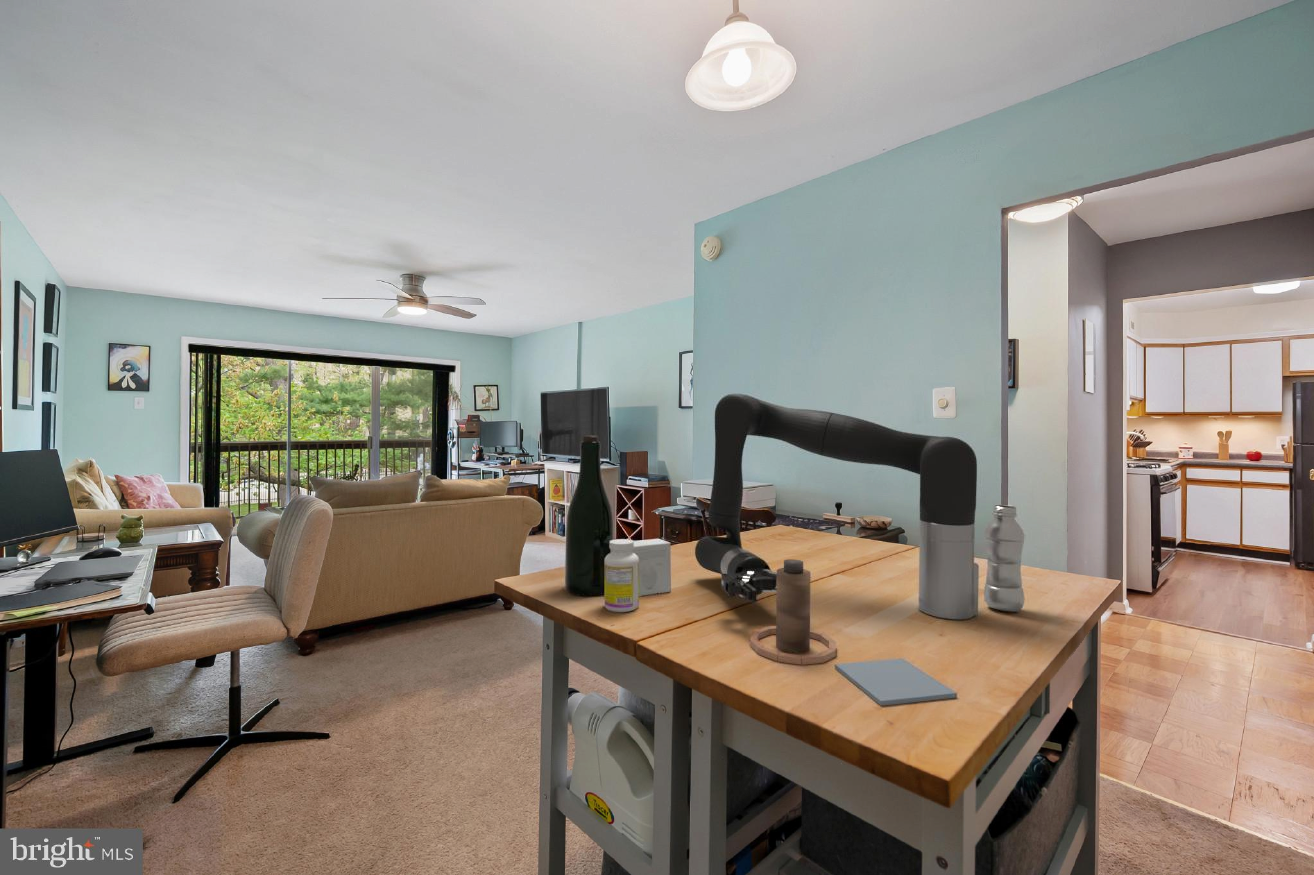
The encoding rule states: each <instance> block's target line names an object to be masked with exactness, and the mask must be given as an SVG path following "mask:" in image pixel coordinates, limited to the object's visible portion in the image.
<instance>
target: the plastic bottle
mask: <svg viewBox="0 0 1314 875" xmlns="http://www.w3.org/2000/svg"><path fill="white" fill-rule="evenodd" d="M992 510H993V511H992V516H994V517H993V519H991V521H990V522H989V523H988V524H987V525H986V526H985V528H984V531H983V536H984V542H985V543H984V544H985V548H986V559H987V562H986V563H987V569H986V579H985V581H986V582H985V583H984V588H983V593H982V594H983V599H984V602H985V604H986V605H987V606H988V607H989V608H992V609H995V610H998V611H1001V612H1002V611H1003V612H1020V611H1021V610H1022V609H1023V607H1024V605H1025V592H1024V588H1023V583H1022V573H1021V571H1022V570H1021V569H1022V568H1021V567H1022V565H1021V563H1022V553H1023V549H1024V542H1025V532H1024V530H1023V528H1022V527H1021V526H1020V524H1019V523H1018V522H1017V520H1016V517H1018V514H1017V506H1014V505H1005V504H1004V505H1003V504H994V505H993V508H992Z"/></svg>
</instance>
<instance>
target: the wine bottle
mask: <svg viewBox="0 0 1314 875" xmlns="http://www.w3.org/2000/svg"><path fill="white" fill-rule="evenodd" d="M601 449H602V446H601V442H600V441H599V436H598V435H593V434H592V435H583V436H582V441H580V444H579V450H580V454H579V455H580V458H579V460H580V461H579V473H578V479H577V483H576V486H575V490H574V492H573V494H572V497H571V500H570V503H569V506H568V511H567V513H566V526H565V560H564V562H565V563H564V567H565V568H564V585H565V586H564V587H565V589H566V591H567V592H569V593H570V594H572V595H576V596H587V597H589V596H591V597H592V596H598V595H599V596H600V595H605V594H604V593H605V591H604V589H605V586H604V560H605V557H606V556H607V555H608V554H610V553H611V550H610V548H609V542H610V541H611V540H615V531H614V515H613V509H612V508H613V507H612V505H611V502H610V499H609V497H608V493H607V492H606V488H605V485H604V482H603V478H602V471H601V470H602V469H601V468H602V467H601V466H602V464H601Z"/></svg>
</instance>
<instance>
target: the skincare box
mask: <svg viewBox="0 0 1314 875" xmlns="http://www.w3.org/2000/svg"><path fill="white" fill-rule="evenodd" d="M633 541H634V548H633V553H635V554H636V555H637V556H638V558H639V597H643V596H652V595H657V593H658V594H664V593H670V592H672V572H671V571H672V569H671V568H672V565H671V564H672V563H671V560H672V559H671V544H672V543H671V542H669V541H666V540H663V539H661V538H652V539H643V540H641V539H640V540H633Z"/></svg>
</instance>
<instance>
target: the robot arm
mask: <svg viewBox="0 0 1314 875" xmlns="http://www.w3.org/2000/svg"><path fill="white" fill-rule="evenodd" d="M748 436H752V437H753V436H755V437H762V438H768V439H774V440H778V441H782V442H785V443H787V444H790V445H792V446H794V447H796V448H798V449H801V450H804V451H805V452H809V453H812V454H816V455H819V456H823V457H826V458H831V459H834V460H839V461H844V462H850V463H857V464H865V465H878V466H887V467H893V468H897V469H901V470H904V471H908V472H910V473H915V474H917V475H919V546H918V547H919V548H918V550H919V551H918V553H919V554H918V555H919V556H918V560H919V561H918V562H919V564H918V609H919V611H921V612H923V613H924V614H927V615H929V616H933V617H937V618H941V619H948V620H968V619H971V618H973V617H974V616H978V615H979V578H980V577H979V574H980V573H979V572H980V568H979V564H978V563H977V562H975V521H976V520H975V519H976V509H977V487H978V486H977V483H978V462H977V456H976V453H975V451H974V450H973V448H972V447H971V446H970V445H969V444H968V443H967V442H965V441H964V440H962V439H960V438H958V437H953V436H937V435H936V436H935V435H927V434H920V433H919V434H917V433H910V432H904V431H900V430H896V429H893V428H889V427H887V426H884V425H881V424H878V423H875V422H872V421H868V420H866V419H861V418H857V417H854V416H851V415H845V414H841V413H835V412H832V411H831V412H829V411H823V410H819V409H818V410H816V409H805V408H791V407H787V406H786V407H785V406H781V405H777V404H774V403H770V402H767V401H766V400H761V399H759V398H756V397H753V396H751V395H748V394H744V393H743V394H742V393H730V394H727V395H724V396H722V398H721V399H720V400H719V401H718V402H717V404H716V406H715V411H714V442H715V443H714V445H715V446H714V467H713V468H714V470H713V478H712V479H713V480H712V487H711V494H710V502H709V508H708V509H709V510H708V516H707V517H708V518H707V520H708V523H709V525H711V526H713V527H715V528H718V529H721V530H724V531H725V532H726V536H714V535H713V536H712V535H708V536H707V535H706V536H703V537H701V538H700V539H699V540H698V541H697V542H696V545H695V547H694V554H695V555H694V556H695V560H696V561H697V563H698V565H699V566H700V567H702V568H703V569H705V570H706V571H710V572H713V573H716V574H720V575H721V589H722V590H723V591H724V593H726V594H727V596H728V597H732V598H733V597H736V595H739V597H741V598H745V599H746V600H748V601H749V602H750V603H757V600H758V599H757V597H758V596H759V595H761V594H763V593H770V592H771V593H774V594H776V591H777V571H772V570H771V568H770V566H769V564H768V563H767V562H766V561H765V560H764V559H763V558H762V557H759V556H758V555H756V554H755V553H753V552H751V551H750V550H746V549H743V547H742V545H743V544H742V539H741V527H740V526H741V525H740V520H741V519H740V518H741V512H742V503H743V497H744V496H743V495H744V494H743V493H744V482H743V481H744V480H743V455H744V454H743V453H744V448H745V444H746V441H747V440H746V439H747V437H748Z"/></svg>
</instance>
